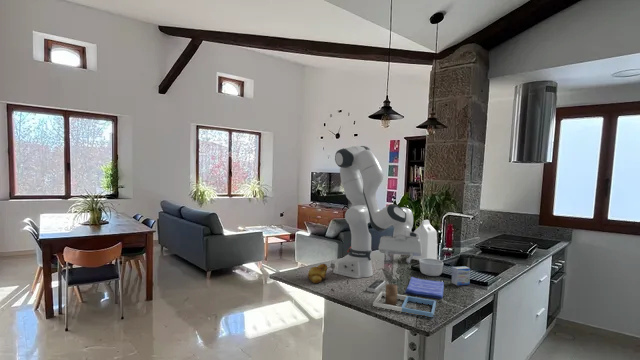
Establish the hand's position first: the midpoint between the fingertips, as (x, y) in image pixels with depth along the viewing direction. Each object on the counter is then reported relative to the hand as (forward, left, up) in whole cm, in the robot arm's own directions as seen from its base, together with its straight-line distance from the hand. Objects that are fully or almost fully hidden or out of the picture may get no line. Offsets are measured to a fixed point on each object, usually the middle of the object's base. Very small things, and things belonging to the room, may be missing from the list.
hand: (397, 261), depth 158 cm
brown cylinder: (0, -11, -16) cm, 20 cm away
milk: (+4, +74, -16) cm, 76 cm away
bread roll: (-43, +2, -16) cm, 46 cm away
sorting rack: (+6, -11, -16) cm, 20 cm away
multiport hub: (-11, +6, -17) cm, 21 cm away
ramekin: (+11, +44, -16) cm, 48 cm away
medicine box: (+27, +32, -16) cm, 45 cm away
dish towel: (+11, +16, -17) cm, 26 cm away
